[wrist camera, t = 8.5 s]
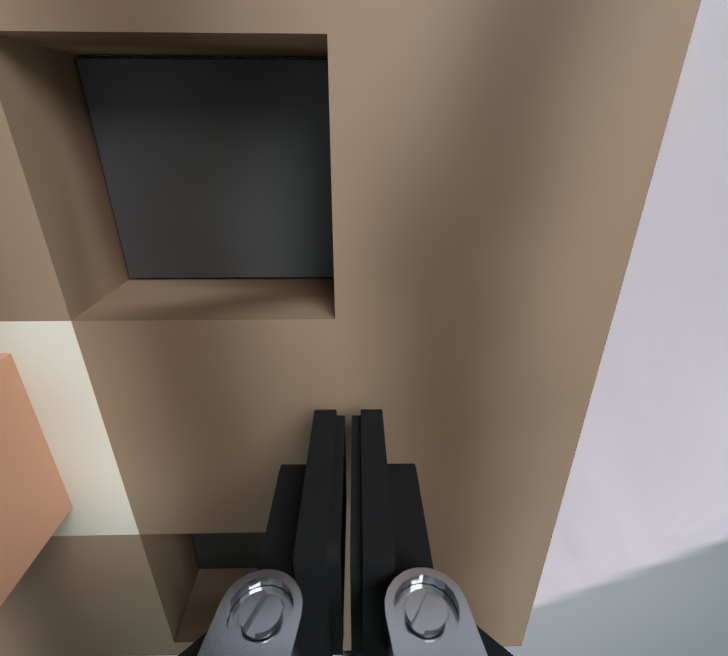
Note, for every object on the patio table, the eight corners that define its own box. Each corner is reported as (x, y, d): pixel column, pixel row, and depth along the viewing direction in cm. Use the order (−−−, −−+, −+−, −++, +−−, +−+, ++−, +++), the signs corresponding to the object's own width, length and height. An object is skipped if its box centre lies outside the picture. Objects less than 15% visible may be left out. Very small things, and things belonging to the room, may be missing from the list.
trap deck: (610, 21, 10) (705, -15, 7) (496, 569, 19) (521, 645, 16) (-227, 13, 10) (-453, -29, 7) (47, 578, 18) (-7, 659, 15)
